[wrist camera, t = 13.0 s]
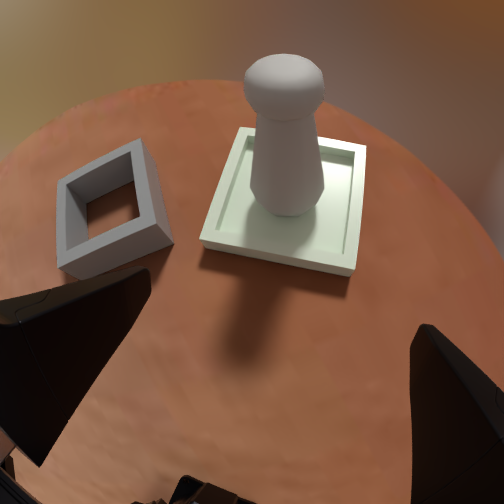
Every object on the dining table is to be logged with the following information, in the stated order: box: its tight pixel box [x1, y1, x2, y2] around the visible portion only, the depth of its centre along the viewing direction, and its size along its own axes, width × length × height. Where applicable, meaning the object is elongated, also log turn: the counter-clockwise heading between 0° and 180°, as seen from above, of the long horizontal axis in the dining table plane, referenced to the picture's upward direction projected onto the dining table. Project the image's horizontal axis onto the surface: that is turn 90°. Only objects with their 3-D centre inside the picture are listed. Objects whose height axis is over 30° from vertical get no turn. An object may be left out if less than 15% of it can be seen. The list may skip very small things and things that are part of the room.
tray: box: [199, 127, 366, 277], centre depth 25 cm, size 12×12×2 cm
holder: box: [56, 138, 174, 280], centre depth 25 cm, size 10×10×4 cm
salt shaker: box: [244, 54, 325, 217], centre depth 19 cm, size 6×6×13 cm
